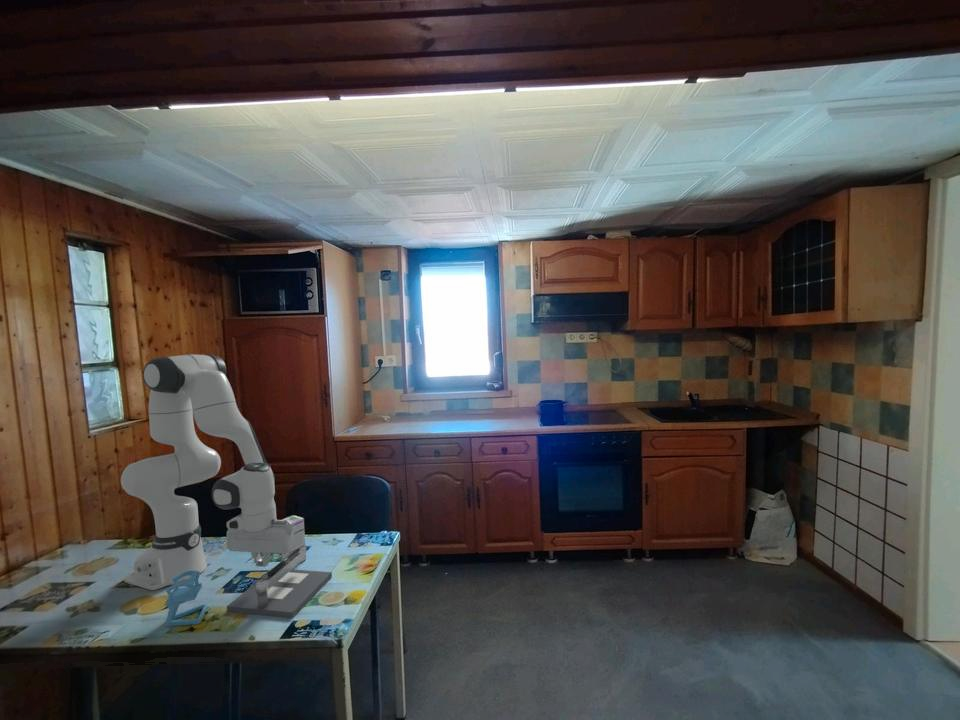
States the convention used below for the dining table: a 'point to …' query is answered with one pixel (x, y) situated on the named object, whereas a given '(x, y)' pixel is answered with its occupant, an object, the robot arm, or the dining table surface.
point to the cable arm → (279, 571)
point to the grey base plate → (282, 595)
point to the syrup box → (296, 534)
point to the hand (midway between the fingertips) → (262, 565)
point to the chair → (183, 599)
